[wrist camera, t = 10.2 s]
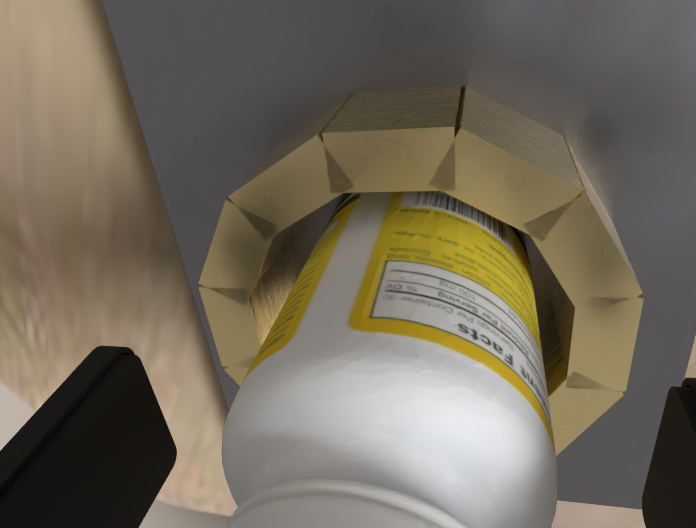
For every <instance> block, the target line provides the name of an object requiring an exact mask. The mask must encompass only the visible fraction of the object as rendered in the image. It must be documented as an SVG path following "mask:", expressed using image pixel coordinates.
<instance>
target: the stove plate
mask: <svg viewBox="0 0 696 528" xmlns="http://www.w3.org/2000/svg"><path fill="white" fill-rule="evenodd" d="M102 3H103V6H104V10H105V13H106V16H107V19H108V23H109V26H110V29H111V32H112V36H113V39H114V42H115V45H116V49H117V52H118V55H119V58H120V61H121V65H122V68H123V71H124V74H125V78H126V81H127V84H128V87H129V91H130V94H131V97H132V100H133V103H134V107H135V110H136V113H137V116H138V120H139V123H140V126H141V129H142V133H143V136H144V139H145V142H146V146H147V149H148V152H149V155H150V158H151V162H152V165H153V168H154V171H155V175H156V178H157V181H158V184H159V188H160V191H161V194H162V197H163V200H164V204H165V207H166V210H167V213H168V217H169V220H170V223H171V226H172V230H173V233H174V236H175V239H176V243H177V246H178V249H179V252H180V255H181V259H182V262H183V265H184V268H185V272H186V275H187V278H188V281H189V285H190V288H191V291H192V294H193V298H194V301H195V304H196V307H197V310H198V314H199V317H200V320H201V323H202V327H203V330H204V333H205V336H206V340H207V343H208V346H209V349H210V352H211V356H212V359H213V362H214V365H215V369H216V372H217V375H218V378H219V382H220V385H221V388H222V391H223V395H224V398H225V401H226V404H227V407H228V411H229V410H230V408H231V406H232V403H233V401H234V399H235V397H236V395H237V393H238V391H239V388H240V386H241V384H242V382H243V380H244V378H245V376H246V374H247V372H248V370H249V368H250V367H251V365H252V362H253V360H254V359H255V357H256V356H257V354H258V352H259V350H260V348H261V346H262V344H263V342H264V340H265V339H266V337H267V335H268V333H269V331H270V329H271V327H272V325H273V324H274V322H275V320H276V318H277V316H278V315H279V313H280V310H281V309H282V307H283V305H284V303H285V301H286V299H287V297H288V295H289V293H290V292H291V290H292V288H293V286H294V284H295V282H296V280H297V279H298V277H299V275H300V273H301V271H302V269H303V267H304V266H305V264H306V262H307V260H308V258H309V256H310V254H311V253H312V251H313V249H314V247H315V245H316V243H317V241H318V239H319V237H320V235H321V234H322V232H323V230H324V228H325V226H326V225H327V223H328V221H329V220H330V218H331V217H332V215H333V214H334V212H335V211H336V210H337V208H338V207H339V206H340V205H341V204H342V203H343V202H344V201H345V200H346V199H347V198H348V197H349V196H350V195H351V194H352V193H355V192H405V191H443V192H445V193H447V194H449V195H451V196H453V197H455V198H457V199H459V200H461V201H463V202H465V203H467V204H469V205H471V206H473V207H475V208H477V209H479V210H481V211H483V212H485V213H487V214H489V215H491V216H493V217H495V218H497V219H499V220H501V221H503V222H505V223H507V224H509V225H511V226H513V227H515V228H517V229H519V230H520V233H521V235H522V237H523V239H524V242H525V245H526V249H527V252H528V256H529V261H530V267H531V274H532V282H533V289H534V297H535V304H536V312H537V319H538V326H539V335H540V342H541V350H542V357H543V364H544V372H545V379H546V386H547V393H548V401H549V408H550V416H551V424H552V430H553V435H554V445H555V453H556V462H557V490H558V495H557V500H560V501H569V502H578V503H588V504H597V505H606V506H615V507H624V508H633V509H642V495H643V491H644V487H645V483H646V479H647V475H648V471H649V467H650V463H651V459H652V455H653V451H654V447H655V443H656V439H657V435H658V431H659V427H660V423H661V419H662V415H663V411H664V407H665V403H666V399H667V395H668V391H669V389H670V388H671V387H672V386H675V387H681V385H682V382H683V380H684V377H685V373H686V370H687V366H688V362H689V358H690V354H691V350H692V347H693V343H694V339H695V335H696V0H102Z"/></svg>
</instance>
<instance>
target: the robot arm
mask: <svg viewBox="0 0 696 528" xmlns="http://www.w3.org/2000/svg"><path fill="white" fill-rule="evenodd" d="M176 456H177V450H176V446H175V443H174V441H173V438H172V436H171V433H170V431H169V428H168V426H167V424H166V421H165V419H164V416H163V414H162V411H161V409H160V406H159V404H158V401H157V399H156V396H155V394H154V391H153V389H152V386H151V384H150V381H149V379H148V376H147V374H146V371H145V369H144V366H143V364H142V362H141V360H140V358H139V357H138V356H137V355H135V354H134V352H133V351H132V350H131V349H130V348H128V347H115V346H99V347H96V348H95V349H94V350H93V351H92V352H91V353H90V354H89V355H88V356H87V357H86V358H85V359H84V360H83V361H82V363H81V364H80V365H79V366H78V367H77V368H76V369H75V370H74V371H73V372H72V373H71V375H70V376H69V377H68V378H67V379H66V380H65V381H64V382H63V383H62V384H61V385H60V387H59V388H58V389H57V390H56V391H55V392H54V393H53V394H52V395H51V396H50V397H49V398H48V400H47V401H46V402H45V403H44V404H43V405H42V406H41V407H40V408H39V409H38V410H37V412H36V413H35V414H34V415H33V416H32V417H31V418H30V419H29V420H28V421H27V423H26V424H25V425H24V426H23V427H22V428H21V429H20V430H19V431H18V432H17V434H16V435H15V436H14V437H13V438H12V439H11V440H10V441H9V442H8V443H7V444H6V445H5V446H4V447H3V449H2V450H1V451H0V528H139V526H140V524H141V522H142V521H143V518H144V517H145V515H146V514H147V512H148V510H149V508H150V507H151V505H152V503H153V501H154V500H155V498H156V496H157V494H158V493H159V491H160V489H161V487H162V486H163V484H164V482H165V481H166V479H167V477H168V475H169V474H170V472H171V470H172V468H173V466H174V464H175V461H176ZM642 511H643V518H644V522H645V526H646V528H696V378H685V379H684V380H683V382H682V385H681V387H675V386H672V387H671V388H670V389H669V391H668V395H667V399H666V403H665V407H664V411H663V415H662V419H661V423H660V427H659V431H658V435H657V439H656V443H655V447H654V451H653V455H652V459H651V463H650V467H649V471H648V475H647V479H646V483H645V487H644V491H643V495H642Z"/></svg>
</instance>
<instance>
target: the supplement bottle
mask: <svg viewBox="0 0 696 528" xmlns="http://www.w3.org/2000/svg"><path fill="white" fill-rule="evenodd" d="M222 463H223V468H224V473H225V477H226V481H227V484H228V486H229V489H230V492H231V494H232V497H233V499H234V500H235V502H236V504H237V506H238V508H237V509H236V511H235V512H234V513H233V515H232V516H231V519H230V521H229V523H228V527H227V528H551V525H552V522H553V519H554V516H555V512H556V504H557V495H558V490H557V462H556V453H555V445H554V435H553V430H552V424H551V416H550V408H549V401H548V393H547V386H546V379H545V372H544V364H543V357H542V350H541V342H540V335H539V326H538V319H537V312H536V304H535V297H534V289H533V282H532V274H531V267H530V261H529V256H528V252H527V249H526V245H525V242H524V239H523V237H522V235H521V233H520V230H519V229H517V228H515V227H513V226H511V225H509V224H507V223H505V222H503V221H501V220H499V219H497V218H495V217H493V216H491V215H489V214H487V213H485V212H483V211H481V210H479V209H477V208H475V207H473V206H471V205H469V204H467V203H465V202H463V201H461V200H459V199H457V198H455V197H453V196H451V195H449V194H447V193H445V192H443V191H405V192H355V193H352V194H351V195H350V196H349V197H348V198H347V199H346V200H345V201H344V202H343V203H342V204H341V205H340V206H339V207H338V208H337V210H336V211H335V212H334V214H333V215H332V217H331V218H330V220H329V221H328V223H327V225H326V226H325V228H324V230H323V232H322V234H321V235H320V237H319V239H318V241H317V243H316V245H315V247H314V249H313V251H312V253H311V254H310V256H309V258H308V260H307V262H306V264H305V266H304V267H303V269H302V271H301V273H300V275H299V277H298V279H297V280H296V282H295V284H294V286H293V288H292V290H291V292H290V293H289V295H288V297H287V299H286V301H285V303H284V305H283V307H282V309H281V310H280V313H279V315H278V316H277V318H276V320H275V322H274V324H273V325H272V327H271V329H270V331H269V333H268V335H267V337H266V339H265V340H264V342H263V344H262V346H261V348H260V350H259V352H258V354H257V356H256V357H255V359H254V360H253V362H252V365H251V367H250V368H249V370H248V372H247V374H246V376H245V378H244V380H243V382H242V384H241V386H240V388H239V391H238V393H237V395H236V397H235V399H234V401H233V403H232V406H231V408H230V410H229V413H228V416H227V419H226V423H225V427H224V431H223V437H222Z"/></svg>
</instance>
